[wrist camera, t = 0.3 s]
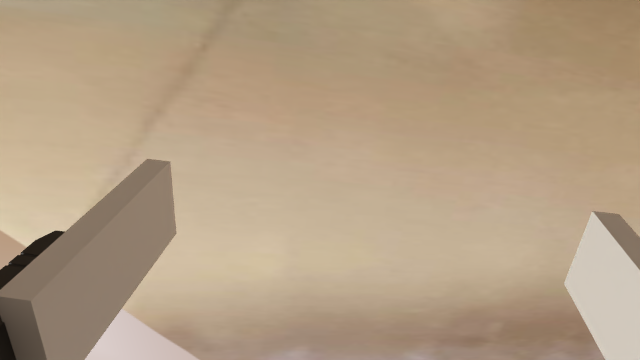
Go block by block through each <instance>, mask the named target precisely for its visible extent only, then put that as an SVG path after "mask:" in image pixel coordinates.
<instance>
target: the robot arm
mask: <svg viewBox="0 0 640 360" xmlns="http://www.w3.org/2000/svg"><path fill="white" fill-rule="evenodd" d="M175 234H176V224H175V213H174V201H173V189H172V178H171V166H170V162H169V161H161V160H152V159H147V160H146V161H144V162H143V163H142V164H141V165H140V166H139V167H138V168H137V169H135V170H134V171H133V172H132V173H131V174H130V175H129V176H128V177H126V178H125V179H124V180H123V181H122V182H121V183H120V184H119V185H117V186H116V187H115V188H114V189H113V190H112V191H111V192H110V193H108V194H107V195H106V196H105V197H104V198H103V199H102V200H101V201H99V202H98V203H97V204H96V205H95V206H94V207H93V208H92V209H90V210H89V211H88V212H87V213H86V214H85V215H84V216H83V217H81V218H80V219H79V220H78V221H77V222H76V223H75V224H74V225H72V226H71V227H70V228H69V229H68V230H67V231H66V232H63V231H54V232H52V233H50V234H48V235H45V236H43V237H41V238H39V239H37V240H35V241H34V242H33V243H32V244H31V245H29V246H28V247H27V248H26V249H25V250H23V251H22V252H21V255H17V256H16V257H15V258H14V259H13V260H12V261H10V262H9V265H8V266H5V267H3V268H2V269H1V270H0V360H84V359H85V358H86V357H87V355H88V354H89V353H90V351H91V350H92V348H93V347H94V346H95V344H96V343H97V342H98V340H99V339H100V337H101V336H102V335H103V333H104V332H105V331H106V329H107V328H108V326H109V325H110V324H111V322H112V321H113V320H114V318H115V317H116V315H117V314H118V313H119V311H120V310H121V309H122V307H123V306H124V304H125V303H126V302H127V300H128V299H129V298H130V296H131V295H132V293H133V292H134V291H135V289H136V288H137V287H138V285H139V284H140V282H141V281H142V280H143V278H144V277H145V276H146V274H147V273H148V271H149V270H150V269H151V267H152V266H153V265H154V263H155V262H156V260H157V259H158V258H159V256H160V255H161V254H162V252H163V251H164V249H165V248H166V247H167V245H168V244H169V243H170V241H171V240H172V238H173V237H174V236H175ZM564 284H565V286H566V288H567V290H568V292H569V293H570V295H571V297H572V299H573V301H574V303H575V304H576V306H577V308H578V310H579V312H580V314H581V316H582V317H583V319H584V321H585V323H586V325H587V327H588V328H589V330H590V332H591V334H592V336H593V338H594V340H595V341H596V343H597V345H598V347H599V349H600V351H601V353H602V354H603V356H604V358H605V360H640V237H639V236H638V235H637V234H636V233H635V232H634V231H633V229H632V228H631V227H630V226H629V225H628V224H627V223H626V222H625V220H624V219H623V218H622V217H621V216H620V215H619V214H613V213H604V212H595V211H592V214H591V216H590V219H589V221H588V224H587V226H586V229H585V232H584V234H583V237H582V239H581V242H580V244H579V247H578V249H577V252H576V255H575V257H574V260H573V262H572V265H571V267H570V270H569V272H568V275H567V278H566V280H565V283H564Z"/></svg>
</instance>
